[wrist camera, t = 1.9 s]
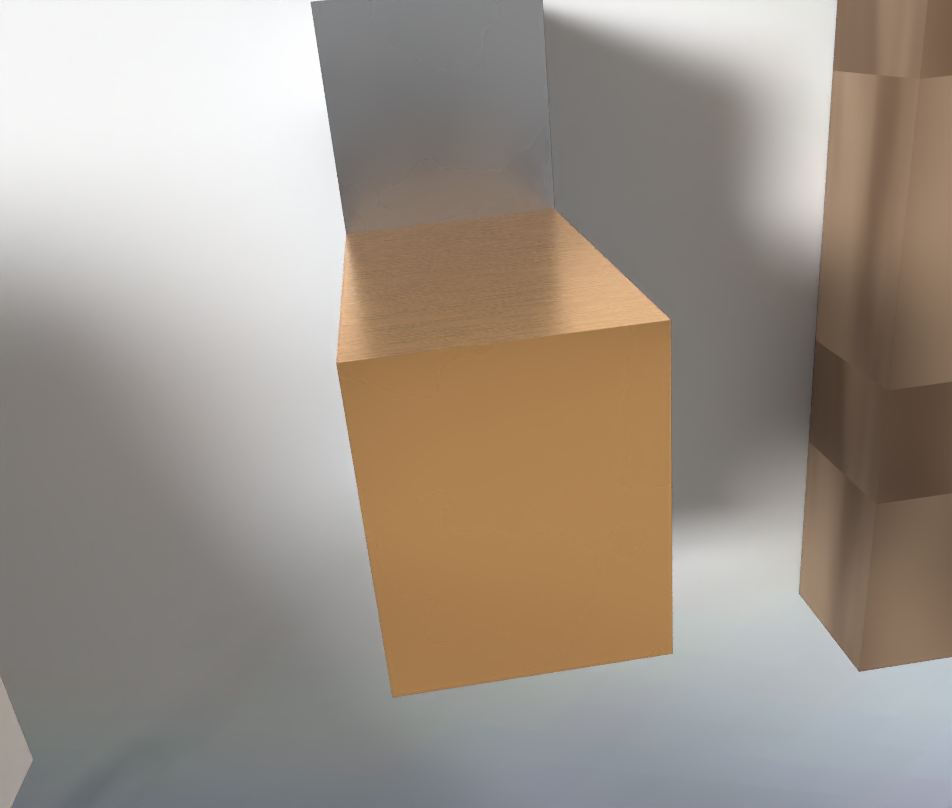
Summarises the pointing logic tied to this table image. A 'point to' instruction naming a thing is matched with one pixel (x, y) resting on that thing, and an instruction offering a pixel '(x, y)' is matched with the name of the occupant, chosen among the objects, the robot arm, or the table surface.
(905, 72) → the slotted wooden block
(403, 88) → the clip
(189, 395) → the table surface
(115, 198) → the table surface
